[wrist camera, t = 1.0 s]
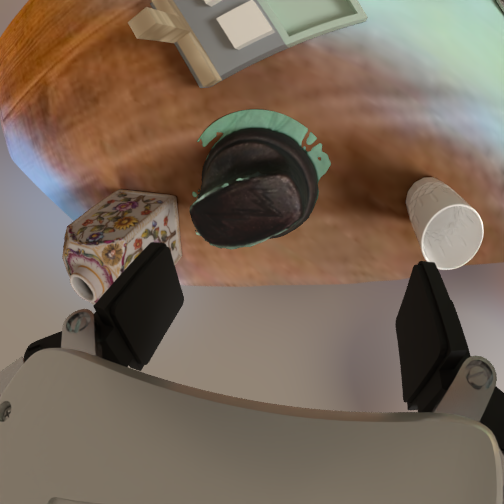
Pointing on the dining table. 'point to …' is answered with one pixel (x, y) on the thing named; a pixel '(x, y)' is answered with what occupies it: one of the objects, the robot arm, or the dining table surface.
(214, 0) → the tile
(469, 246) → the white cup
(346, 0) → the tray
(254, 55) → the board
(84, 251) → the decorative jar
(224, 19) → the tile
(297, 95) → the dining table surface
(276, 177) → the dark round cap
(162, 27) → the tan bar
